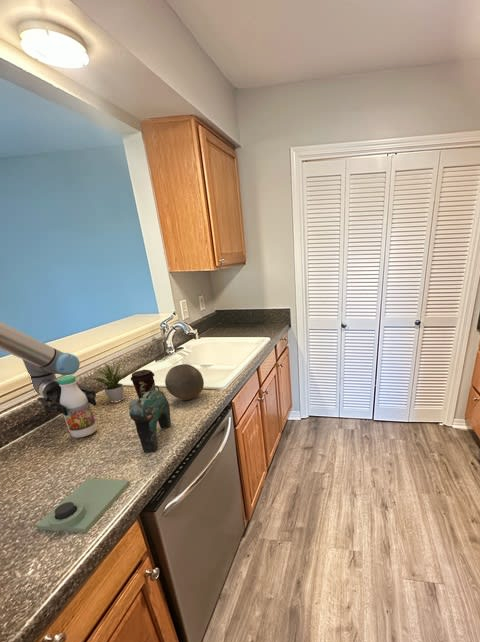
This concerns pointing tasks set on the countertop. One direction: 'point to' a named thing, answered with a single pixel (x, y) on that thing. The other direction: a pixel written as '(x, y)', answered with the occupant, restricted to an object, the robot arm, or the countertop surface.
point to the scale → (86, 505)
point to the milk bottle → (76, 408)
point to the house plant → (111, 383)
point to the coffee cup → (143, 381)
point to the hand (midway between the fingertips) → (80, 406)
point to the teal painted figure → (150, 417)
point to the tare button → (65, 510)
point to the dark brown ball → (184, 382)
